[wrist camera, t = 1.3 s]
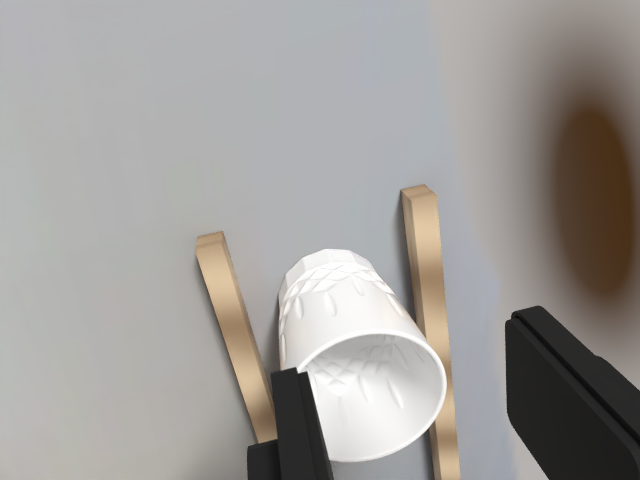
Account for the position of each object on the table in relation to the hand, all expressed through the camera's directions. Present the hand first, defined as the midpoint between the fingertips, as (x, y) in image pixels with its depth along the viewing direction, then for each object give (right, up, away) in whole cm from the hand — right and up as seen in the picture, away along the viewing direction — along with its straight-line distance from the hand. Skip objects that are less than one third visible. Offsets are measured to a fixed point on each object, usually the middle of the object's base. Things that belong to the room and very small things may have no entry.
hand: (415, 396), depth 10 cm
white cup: (-1, 0, +21) cm, 22 cm away
